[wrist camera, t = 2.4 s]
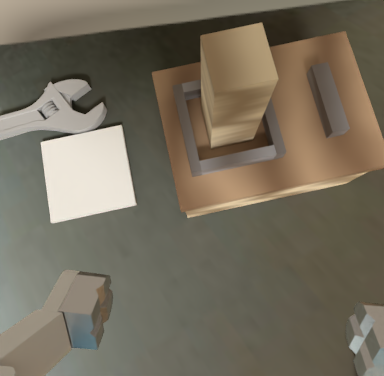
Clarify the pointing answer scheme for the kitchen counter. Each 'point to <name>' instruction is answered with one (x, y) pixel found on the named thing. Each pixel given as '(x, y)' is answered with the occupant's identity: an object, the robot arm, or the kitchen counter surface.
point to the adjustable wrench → (54, 112)
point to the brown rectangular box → (274, 131)
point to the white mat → (87, 174)
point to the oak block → (235, 83)
